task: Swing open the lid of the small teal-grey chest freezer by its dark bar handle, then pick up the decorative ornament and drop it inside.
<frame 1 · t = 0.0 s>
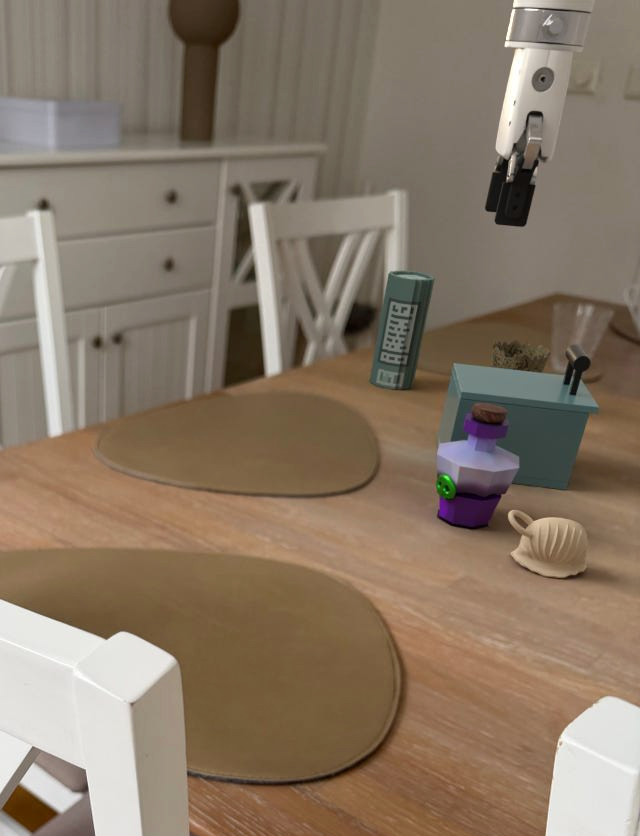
hand: (503, 218, 106), 26 cm above the table, tool pointing down, fingers open, 9 cm apart
freezer lid: (526, 368, 110), point 12 cm above the table, hinge at 0.0°
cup: (506, 405, 137), on the table
freezer: (498, 464, 116), on the table
can: (391, 384, 142), on the table
decorative ornament: (540, 568, 94), on the table
potion bottle: (462, 519, 102), on the table
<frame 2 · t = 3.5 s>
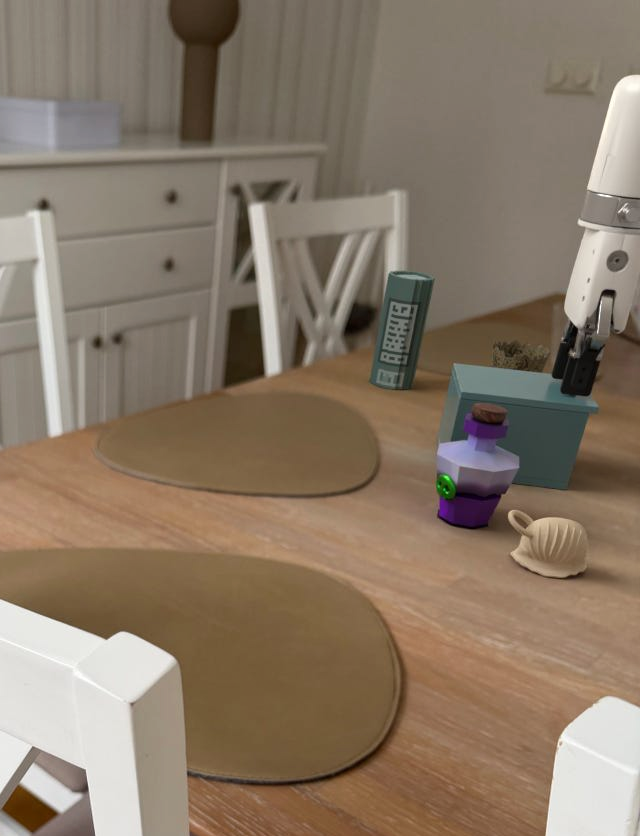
hand: (570, 385, 110), 10 cm above the table, tool pointing down, fingers closed on freezer lid, 5 cm apart
freezer lid: (526, 368, 110), point 12 cm above the table, hinge at 0.0°, touching gripper
everything else where it was.
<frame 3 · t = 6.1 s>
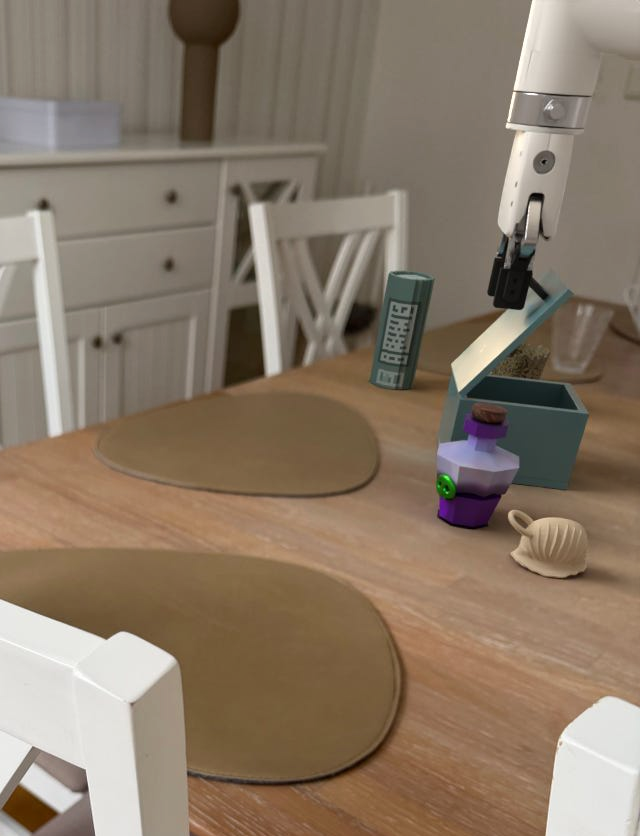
hand: (504, 300, 107), 19 cm above the table, tool pointing down, fingers closed on freezer lid, 5 cm apart
freezer lid: (493, 318, 108), point 17 cm above the table, hinge at 54.3°, touching gripper
everything else where it was.
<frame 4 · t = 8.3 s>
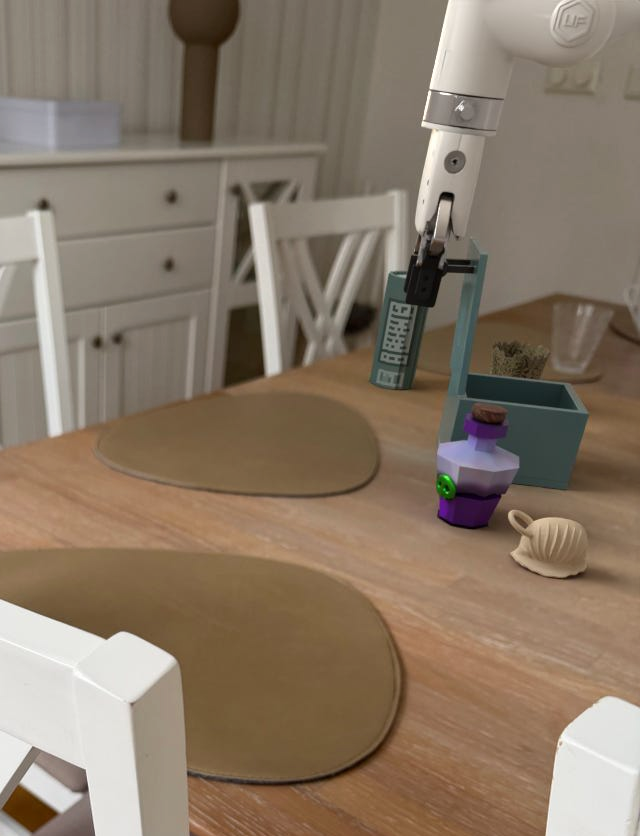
hand: (418, 297, 109), 18 cm above the table, tool pointing down, fingers closed on freezer lid, 5 cm apart
freezer lid: (447, 313, 109), point 17 cm above the table, hinge at 93.3°, touching gripper
everything else where it was.
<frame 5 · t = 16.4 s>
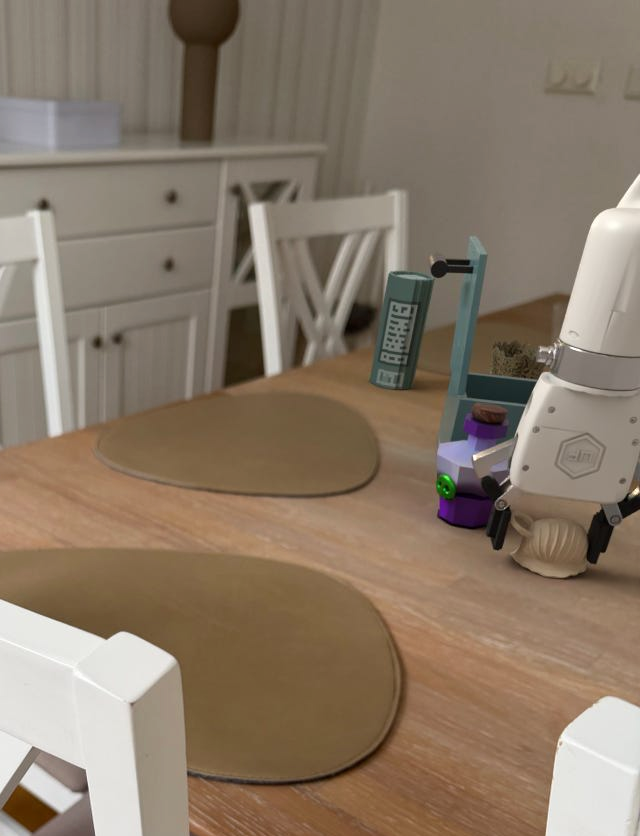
hand: (542, 550, 93), 2 cm above the table, tool pointing down, fingers closed on decorative ornament, 8 cm apart
freezer lid: (446, 313, 109), point 17 cm above the table, hinge at 93.5°
decorative ornament: (540, 568, 94), on the table, touching gripper
everything else where it was.
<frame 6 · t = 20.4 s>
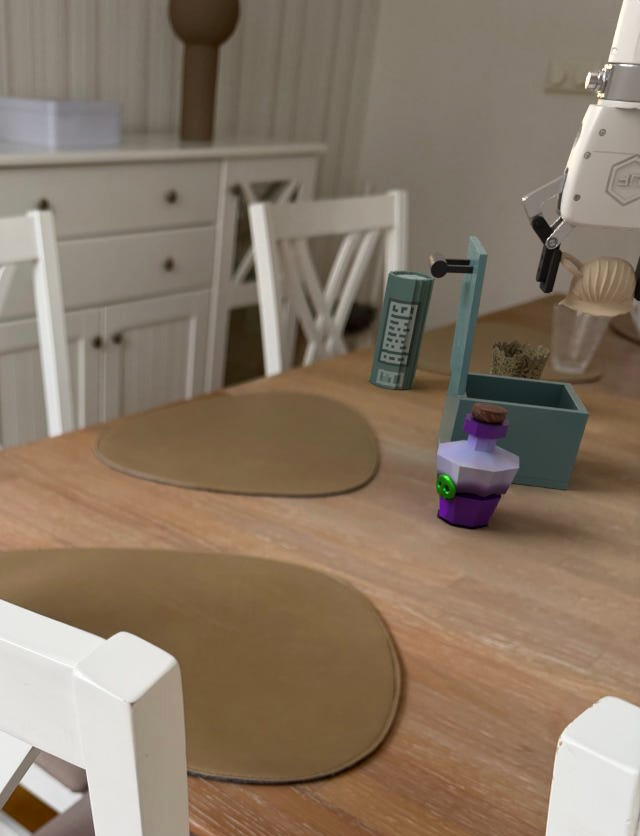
hand: (590, 293, 96), 22 cm above the table, tool pointing down, fingers closed on decorative ornament, 8 cm apart
decorative ornament: (589, 313, 97), point 20 cm above the table, touching gripper
everything else where it was.
when the fingers open (11 cm above the table, at t = 24.4 s): decorative ornament stays where it is, resting on freezer.
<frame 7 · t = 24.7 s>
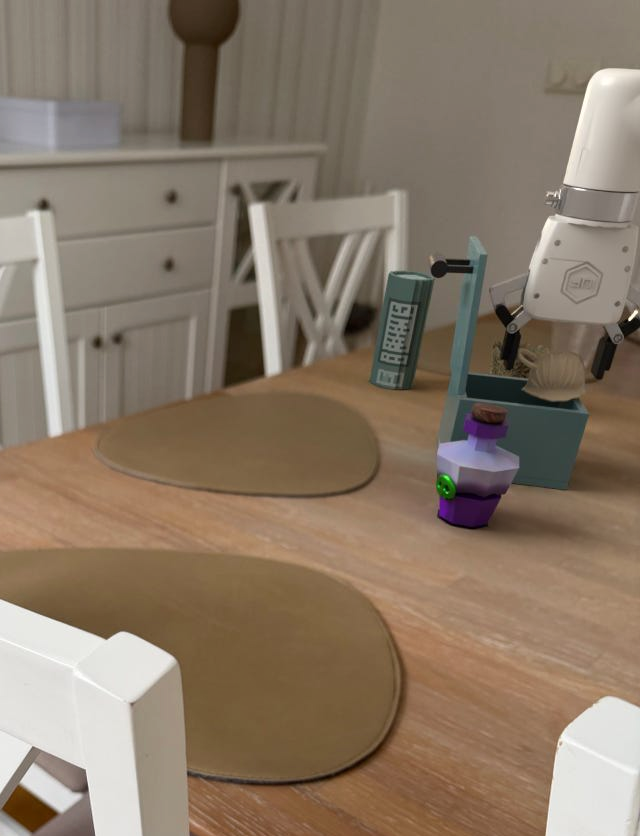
hand: (551, 371, 110), 11 cm above the table, tool pointing down, fingers open, 9 cm apart
decorative ornament: (547, 397, 112), point 8 cm above the table, touching freezer, gripper
everything else where it was.
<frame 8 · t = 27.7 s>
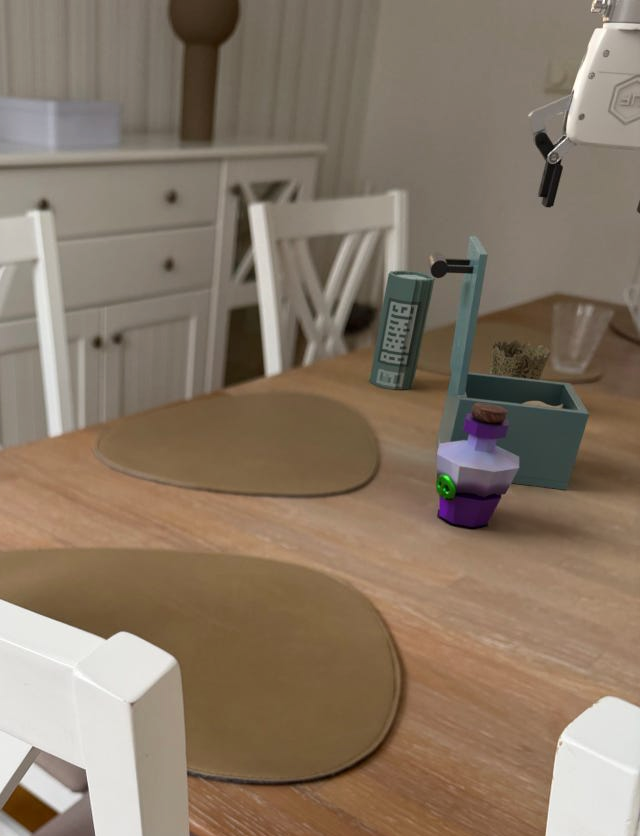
hand: (594, 210, 101), 28 cm above the table, tool pointing down, fingers open, 9 cm apart
decorative ornament: (548, 439, 114), point 4 cm above the table, touching freezer
everything else where it was.
at the end: freezer lid at +94° (first picture: +0°); decorative ornament inside the target area in the freezer (4.9 cm from its centre), point 3.6 cm above the freezer's base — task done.
